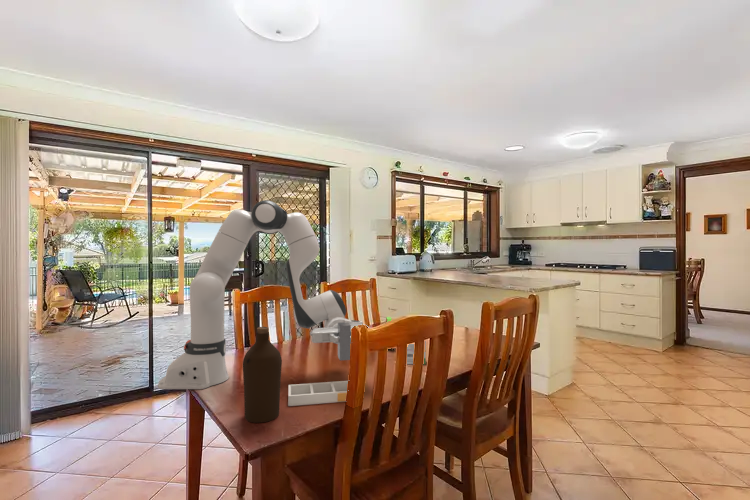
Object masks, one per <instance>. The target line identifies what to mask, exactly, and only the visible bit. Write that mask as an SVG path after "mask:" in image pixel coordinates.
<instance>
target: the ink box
mask: <svg viewBox="0 0 750 500" xmlns="http://www.w3.org/2000/svg"><path fill="white" fill-rule="evenodd" d="M426 344H427V340H426V341H425V352H424V364H423V365H426V361H427V360H426V358H427V357H426V355H427V353H426V352H427V349H426V348H427V347H426V346H427V345H426ZM413 354H414V344H409V345H408V347H407V364H406V365H414V364H413Z"/></svg>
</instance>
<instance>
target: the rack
mask: <svg viewBox="0 0 750 500" xmlns="http://www.w3.org/2000/svg"><path fill="white" fill-rule="evenodd" d="M348 381H349V380H340V381H339V380H338V381H327V382H326V381H324V382H323V381H322V382H309V383H299V384H296V383H295V384H288V386H287V387H288V402H287V406H288V407H295V406H308V405H318V404H319V405H321V404H330V403H344V402H346V401H345V399H346V394H347V384H348Z"/></svg>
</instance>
